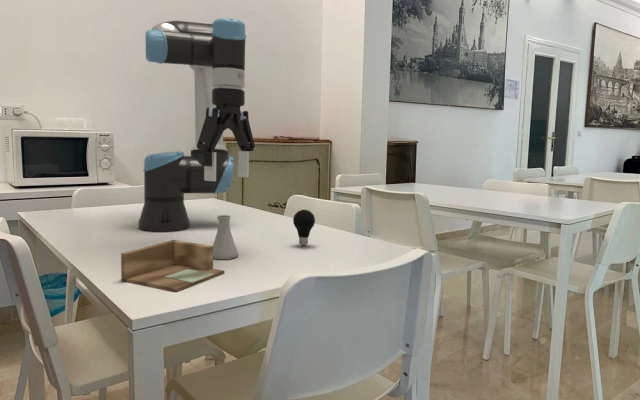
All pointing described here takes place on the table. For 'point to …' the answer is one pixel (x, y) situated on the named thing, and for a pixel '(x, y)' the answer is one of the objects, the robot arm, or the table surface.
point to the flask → (224, 240)
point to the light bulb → (303, 225)
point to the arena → (169, 265)
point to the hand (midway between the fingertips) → (227, 179)
